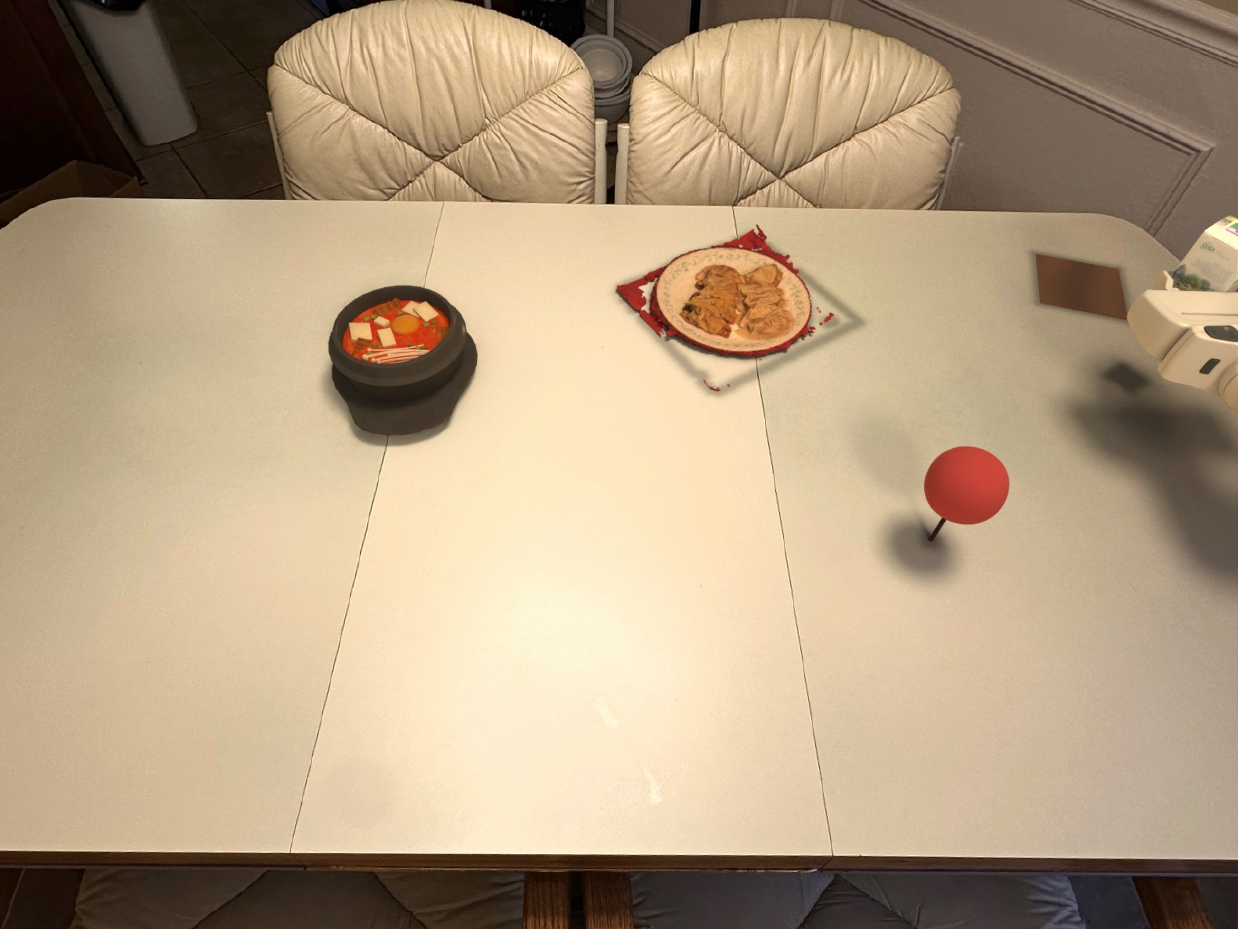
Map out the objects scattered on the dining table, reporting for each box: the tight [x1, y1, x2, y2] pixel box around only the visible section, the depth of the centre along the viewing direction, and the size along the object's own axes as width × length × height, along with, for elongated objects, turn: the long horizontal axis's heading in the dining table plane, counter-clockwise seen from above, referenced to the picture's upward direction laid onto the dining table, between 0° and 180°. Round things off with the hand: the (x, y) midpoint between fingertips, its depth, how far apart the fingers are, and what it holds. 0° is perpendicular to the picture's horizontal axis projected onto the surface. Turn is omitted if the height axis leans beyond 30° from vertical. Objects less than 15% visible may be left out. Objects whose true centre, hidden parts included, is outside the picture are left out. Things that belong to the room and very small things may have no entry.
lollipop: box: [923, 445, 1010, 543], centre depth 77 cm, size 8×8×15 cm
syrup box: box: [1173, 215, 1238, 292], centre depth 87 cm, size 6×6×14 cm
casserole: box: [327, 284, 479, 436], centre depth 94 cm, size 25×19×8 cm
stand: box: [1035, 253, 1128, 321], centre depth 110 cm, size 12×12×1 cm
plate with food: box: [616, 223, 835, 391], centre depth 105 cm, size 24×26×4 cm
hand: (1200, 276), depth 87 cm, fingers closed on syrup box, 7 cm apart
